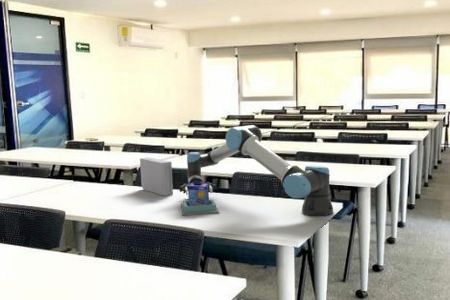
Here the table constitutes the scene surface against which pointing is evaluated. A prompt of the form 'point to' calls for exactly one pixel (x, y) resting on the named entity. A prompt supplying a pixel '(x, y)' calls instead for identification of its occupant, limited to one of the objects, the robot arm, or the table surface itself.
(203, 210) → the cradle
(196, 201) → the ink cartridge box
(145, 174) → the game console
